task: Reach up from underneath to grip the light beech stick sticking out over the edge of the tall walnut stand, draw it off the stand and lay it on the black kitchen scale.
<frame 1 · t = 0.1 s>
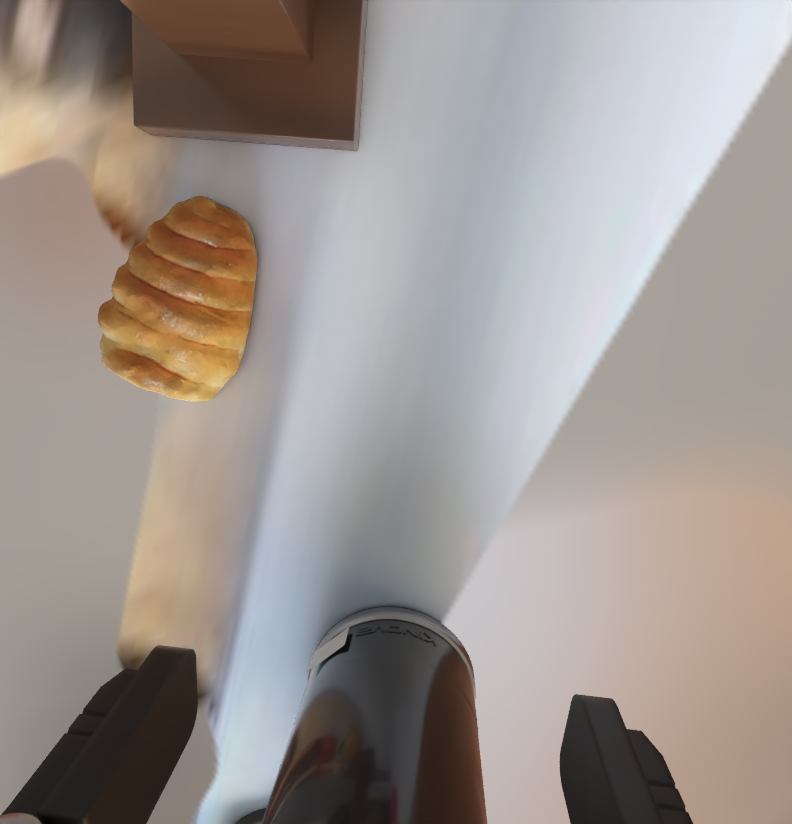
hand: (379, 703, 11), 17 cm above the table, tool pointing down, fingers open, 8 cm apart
pastry: (192, 309, 27), on the table
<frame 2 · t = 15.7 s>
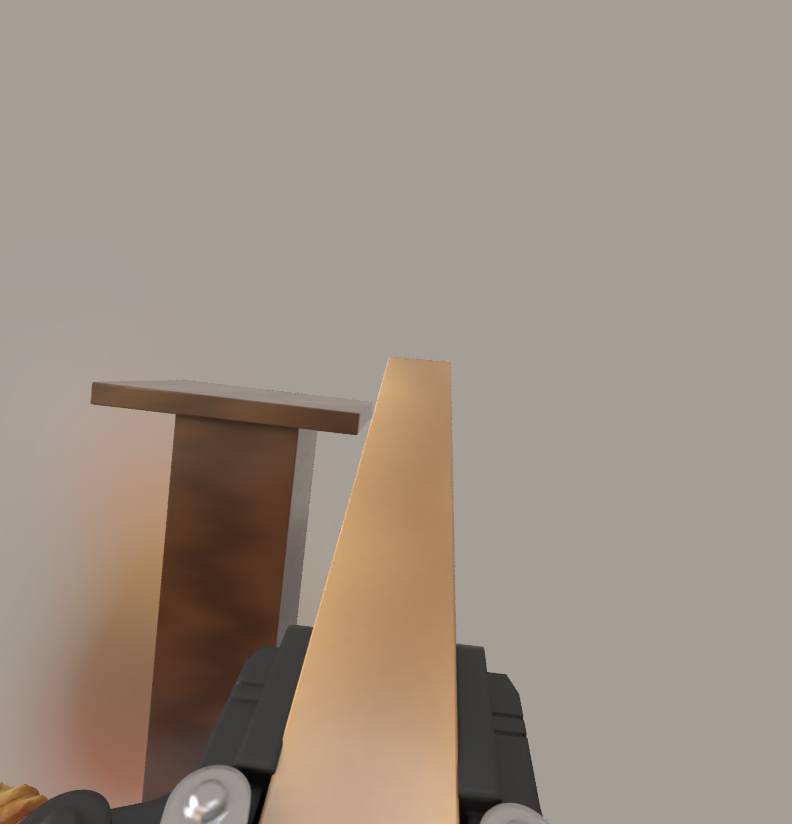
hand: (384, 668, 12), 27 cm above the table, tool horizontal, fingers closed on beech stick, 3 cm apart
beech stick: (396, 562, 17), point 28 cm above the table, tilted 22°, touching gripper
when the fingers open (5 cm above the table, at t = 21.5 s): beech stick stays where it is, resting on scale.
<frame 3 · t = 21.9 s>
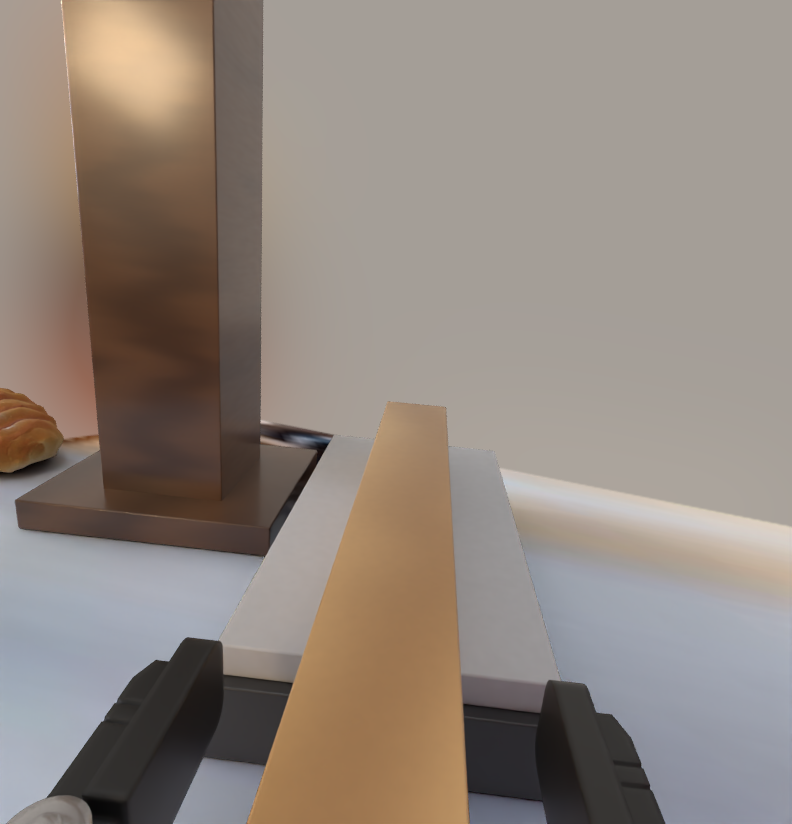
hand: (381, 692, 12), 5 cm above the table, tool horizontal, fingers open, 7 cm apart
stand: (189, 495, 30), on the table
scale: (398, 584, 23), on the table
beech stick: (396, 582, 17), point 3 cm above the table, touching scale
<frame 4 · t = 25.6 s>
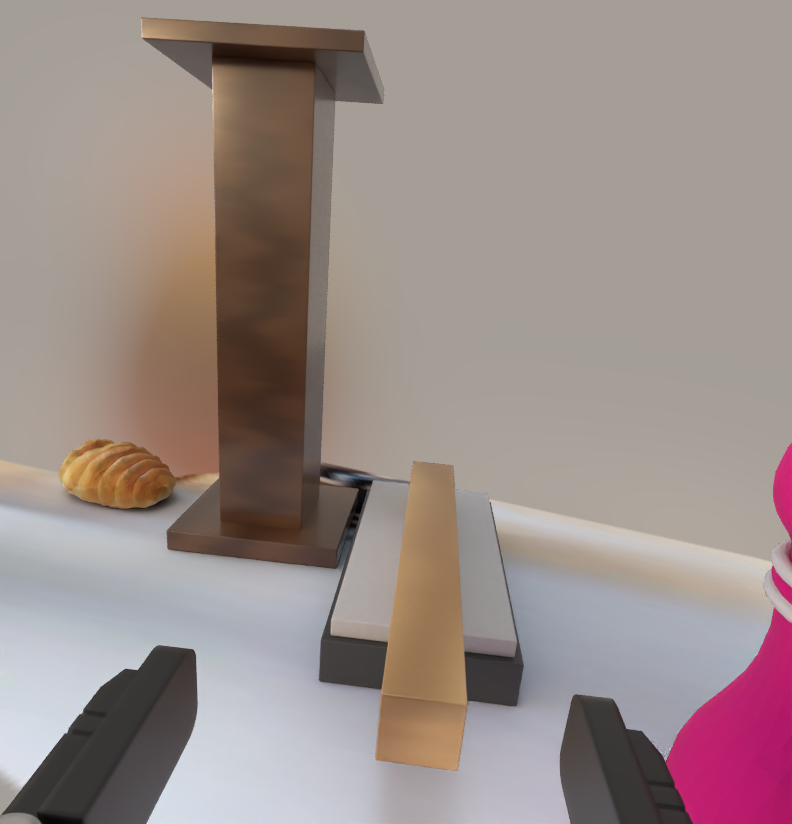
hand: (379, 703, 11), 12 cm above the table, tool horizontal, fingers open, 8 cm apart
stand: (272, 524, 42), on the table
scale: (422, 587, 35), on the table
pastry: (121, 491, 46), on the table
beech stick: (425, 586, 30), point 3 cm above the table, touching scale
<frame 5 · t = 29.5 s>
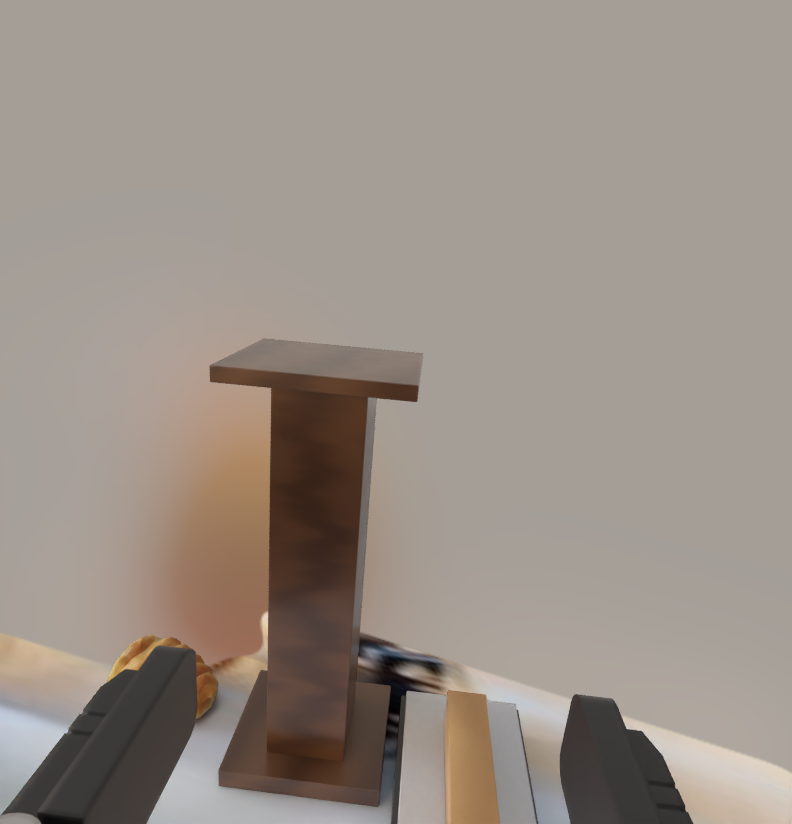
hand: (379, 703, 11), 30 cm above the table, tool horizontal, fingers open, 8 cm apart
stand: (312, 737, 44), on the table
pastry: (165, 691, 48), on the table
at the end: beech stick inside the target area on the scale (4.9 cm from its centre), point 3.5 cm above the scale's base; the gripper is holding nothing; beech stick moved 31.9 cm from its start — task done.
